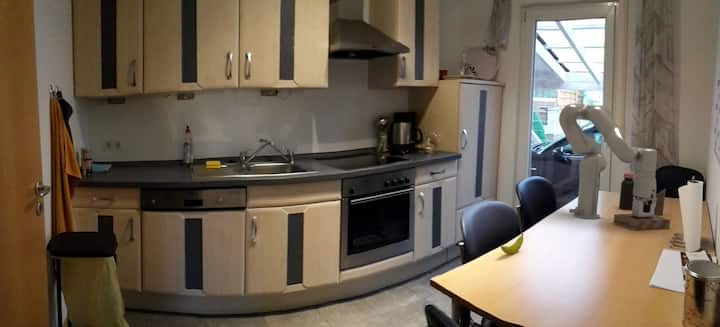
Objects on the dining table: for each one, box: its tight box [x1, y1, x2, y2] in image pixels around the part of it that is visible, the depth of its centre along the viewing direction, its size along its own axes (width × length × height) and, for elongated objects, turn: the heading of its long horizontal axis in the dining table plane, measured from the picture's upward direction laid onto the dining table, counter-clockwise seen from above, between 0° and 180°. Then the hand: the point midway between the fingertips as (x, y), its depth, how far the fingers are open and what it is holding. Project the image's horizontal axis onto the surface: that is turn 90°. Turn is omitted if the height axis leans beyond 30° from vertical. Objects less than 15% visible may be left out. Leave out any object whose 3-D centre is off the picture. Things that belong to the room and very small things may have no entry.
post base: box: [613, 213, 671, 232], centre depth 260 cm, size 20×14×4 cm
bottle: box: [618, 172, 635, 211], centre depth 297 cm, size 7×7×20 cm
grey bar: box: [631, 198, 656, 217], centre depth 259 cm, size 9×4×8 cm, turn 105°
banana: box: [500, 233, 525, 255], centre depth 210 cm, size 3×19×6 cm, turn 139°
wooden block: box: [643, 188, 667, 217], centre depth 287 cm, size 4×11×18 cm, turn 55°
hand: (643, 211), depth 259 cm, fingers closed on grey bar, 4 cm apart
